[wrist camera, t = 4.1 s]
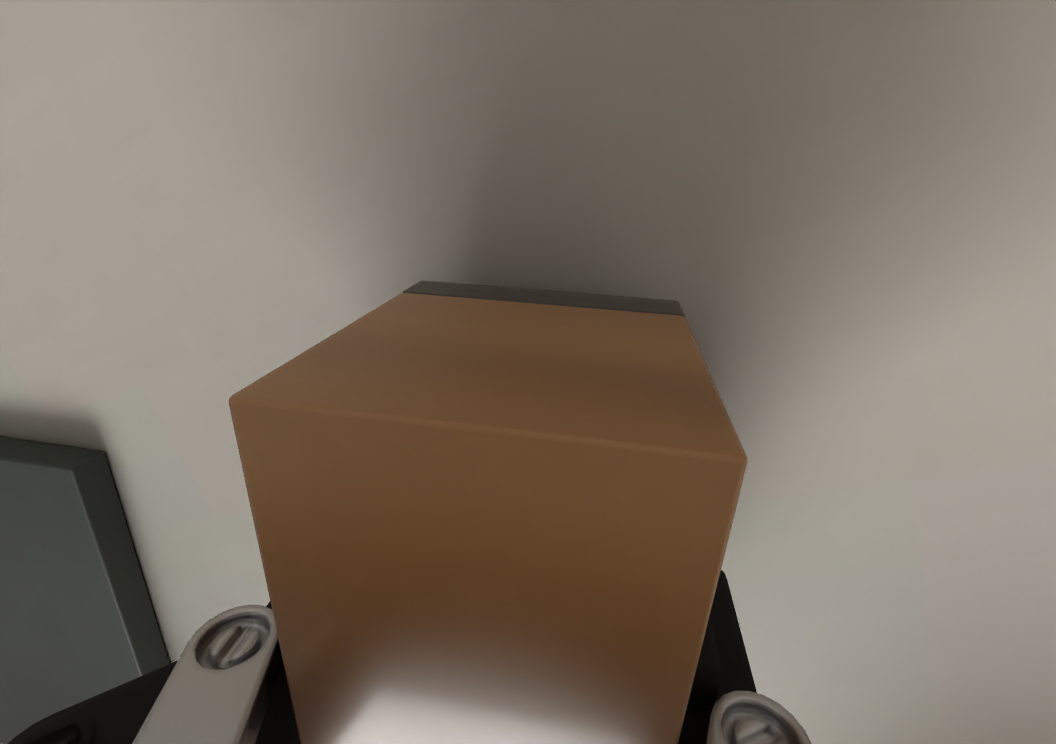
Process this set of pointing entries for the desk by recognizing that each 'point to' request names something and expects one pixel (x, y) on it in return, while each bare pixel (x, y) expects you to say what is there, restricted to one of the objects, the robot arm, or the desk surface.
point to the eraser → (492, 518)
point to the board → (66, 585)
